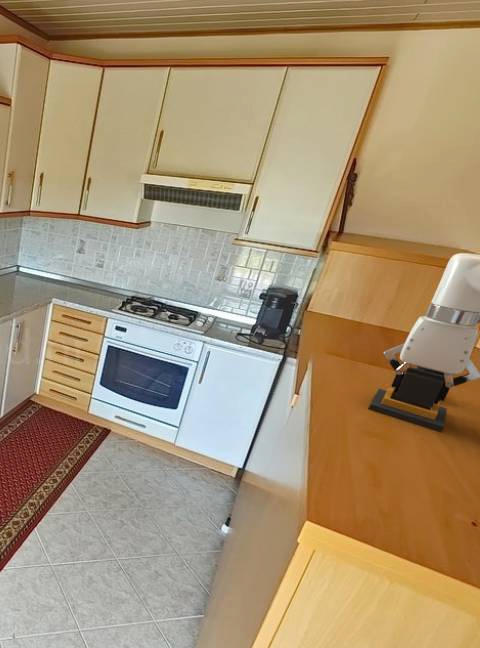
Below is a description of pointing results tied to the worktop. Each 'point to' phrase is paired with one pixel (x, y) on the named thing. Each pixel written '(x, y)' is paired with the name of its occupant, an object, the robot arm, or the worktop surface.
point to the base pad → (409, 410)
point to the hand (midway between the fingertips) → (415, 395)
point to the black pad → (420, 386)
